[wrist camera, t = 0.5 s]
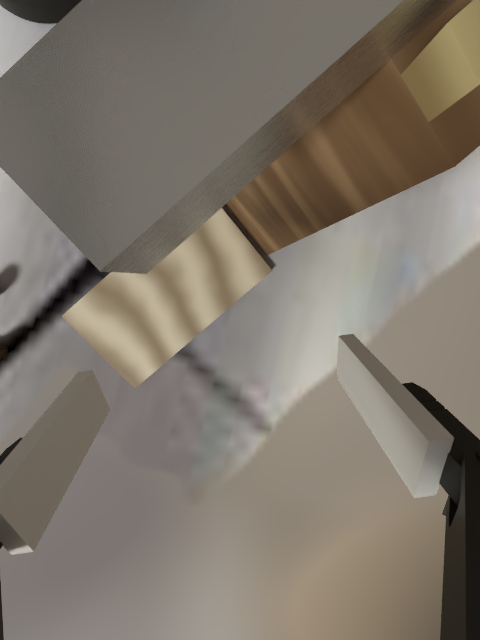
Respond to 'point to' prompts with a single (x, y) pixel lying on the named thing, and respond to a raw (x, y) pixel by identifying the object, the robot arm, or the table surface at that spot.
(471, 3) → the wooden rectangular column
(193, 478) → the table surface
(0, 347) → the figurine
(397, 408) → the robot arm
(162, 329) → the board
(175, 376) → the table surface
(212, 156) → the block
